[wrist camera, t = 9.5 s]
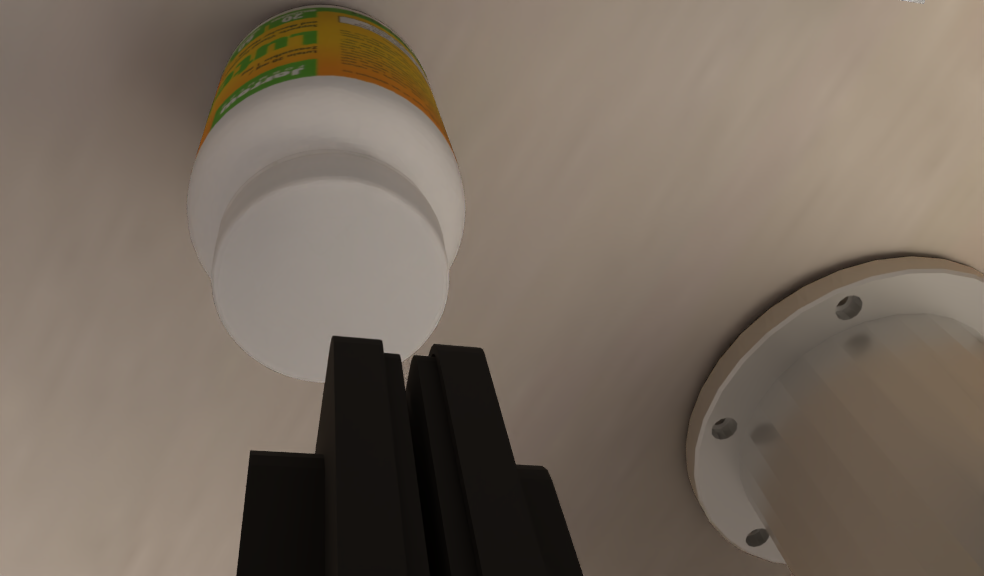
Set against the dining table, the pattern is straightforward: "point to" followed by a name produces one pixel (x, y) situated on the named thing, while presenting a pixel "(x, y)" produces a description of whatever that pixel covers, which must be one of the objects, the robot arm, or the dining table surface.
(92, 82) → the dining table surface
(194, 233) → the supplement bottle
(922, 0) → the panel
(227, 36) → the dining table surface
